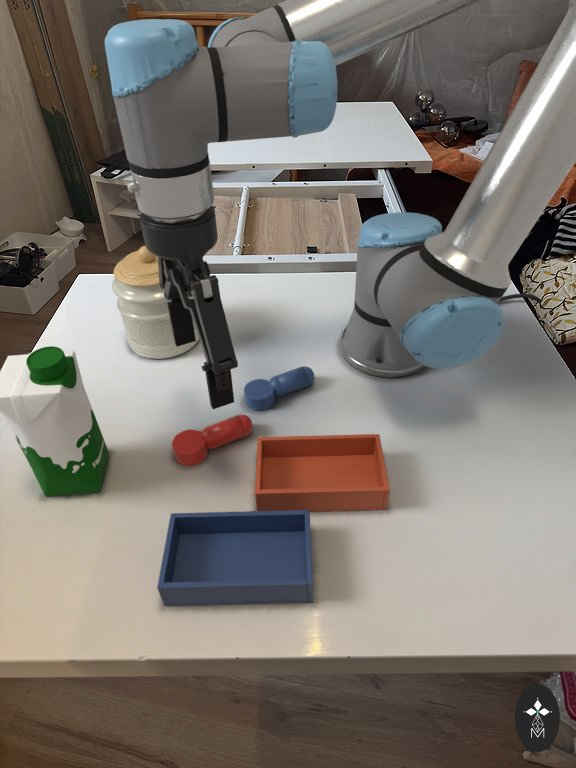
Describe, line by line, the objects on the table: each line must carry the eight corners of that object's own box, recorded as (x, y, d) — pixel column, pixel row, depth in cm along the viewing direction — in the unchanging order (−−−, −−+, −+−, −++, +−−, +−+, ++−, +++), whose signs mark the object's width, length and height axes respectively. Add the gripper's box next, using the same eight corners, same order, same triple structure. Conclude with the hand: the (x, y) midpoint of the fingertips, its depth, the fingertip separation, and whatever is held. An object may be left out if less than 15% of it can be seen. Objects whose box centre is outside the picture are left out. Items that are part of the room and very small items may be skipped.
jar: (149, 371, 88) (125, 276, 76) (115, 335, 96) (88, 245, 84) (215, 340, 94) (202, 248, 82) (178, 309, 102) (161, 221, 90)
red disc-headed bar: (245, 419, 79) (244, 404, 77) (259, 439, 76) (257, 424, 74) (170, 448, 75) (166, 432, 73) (180, 470, 72) (177, 455, 70)
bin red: (376, 453, 73) (379, 433, 71) (386, 509, 66) (390, 490, 64) (259, 456, 73) (257, 437, 71) (257, 513, 66) (254, 493, 64)
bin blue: (309, 529, 64) (309, 509, 62) (312, 602, 58) (313, 584, 55) (176, 532, 65) (170, 513, 62) (164, 606, 58) (157, 587, 55)
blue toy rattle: (306, 372, 86) (306, 357, 84) (320, 389, 83) (320, 373, 81) (240, 396, 83) (238, 381, 81) (252, 414, 80) (251, 399, 77)
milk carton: (106, 497, 69) (57, 381, 56) (35, 503, 69) (-32, 388, 55) (116, 446, 75) (75, 332, 62) (52, 452, 75) (-4, 338, 62)
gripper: (110, 175, 60) (146, 328, 74) (179, 272, 43) (209, 447, 57) (174, 163, 63) (197, 314, 77) (263, 251, 46) (272, 423, 60)
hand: (202, 371), depth 67 cm, fingers open, 13 cm apart
